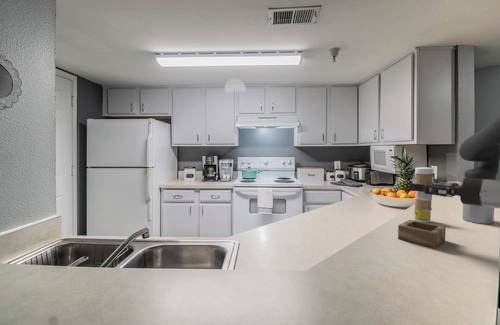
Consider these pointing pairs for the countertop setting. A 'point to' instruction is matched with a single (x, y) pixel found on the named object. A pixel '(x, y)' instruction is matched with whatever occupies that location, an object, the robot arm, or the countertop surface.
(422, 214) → the supplement bottle
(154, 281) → the countertop surface
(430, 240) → the box
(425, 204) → the sprinkles bottle
